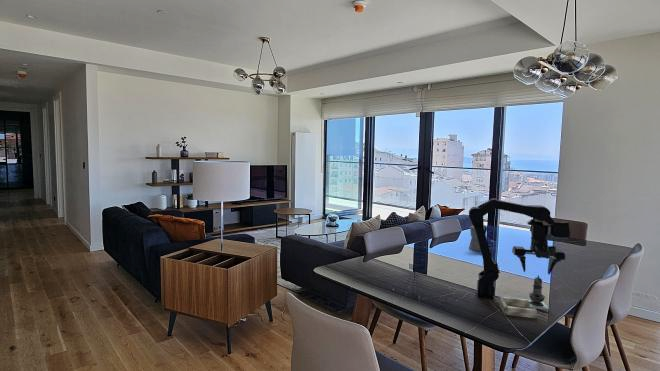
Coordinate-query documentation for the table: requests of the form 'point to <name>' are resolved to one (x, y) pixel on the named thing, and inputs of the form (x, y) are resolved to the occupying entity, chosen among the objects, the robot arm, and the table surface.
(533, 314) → the beige bracket
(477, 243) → the coffeepot
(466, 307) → the table surface
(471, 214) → the robot arm
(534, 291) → the dark grey chess piece
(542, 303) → the pad
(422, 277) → the table surface
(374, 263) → the table surface
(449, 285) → the table surface
